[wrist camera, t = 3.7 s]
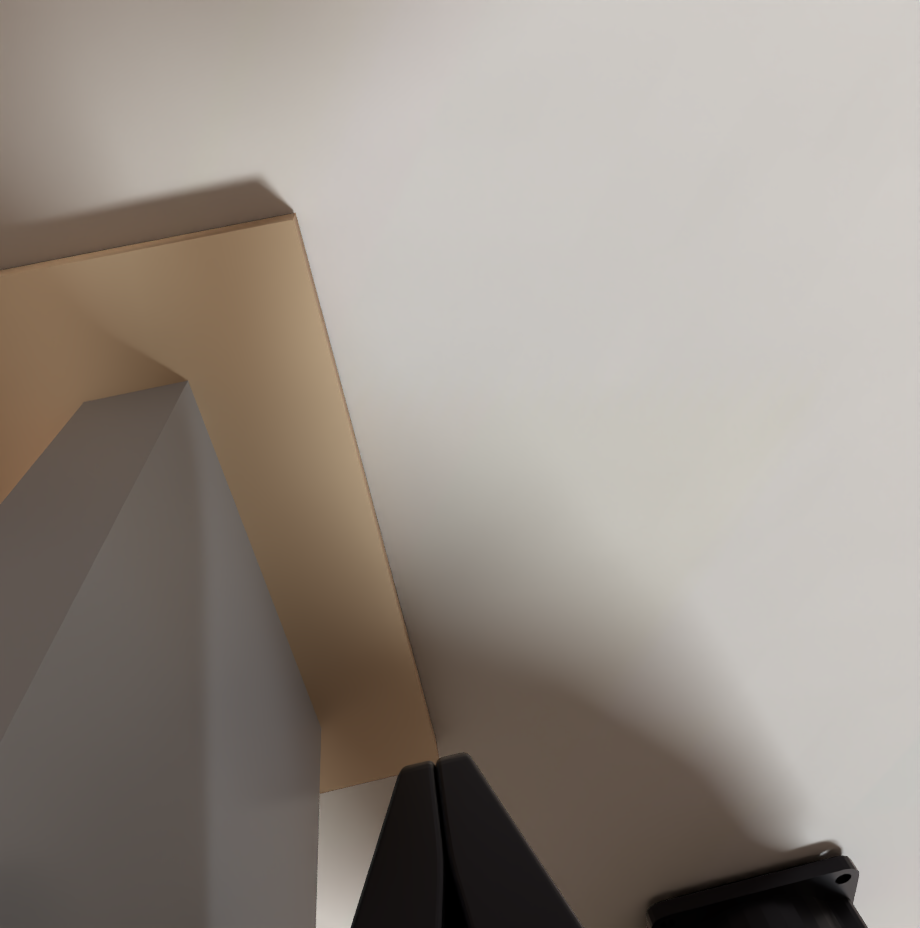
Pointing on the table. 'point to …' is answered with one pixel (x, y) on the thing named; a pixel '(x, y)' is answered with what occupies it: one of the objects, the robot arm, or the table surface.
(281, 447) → the cork mat
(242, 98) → the table surface
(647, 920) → the robot arm
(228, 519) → the slate tile
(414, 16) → the table surface
